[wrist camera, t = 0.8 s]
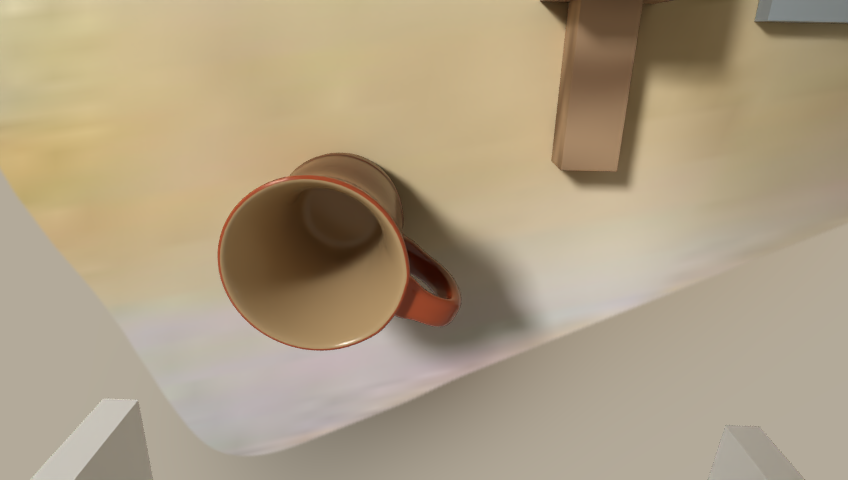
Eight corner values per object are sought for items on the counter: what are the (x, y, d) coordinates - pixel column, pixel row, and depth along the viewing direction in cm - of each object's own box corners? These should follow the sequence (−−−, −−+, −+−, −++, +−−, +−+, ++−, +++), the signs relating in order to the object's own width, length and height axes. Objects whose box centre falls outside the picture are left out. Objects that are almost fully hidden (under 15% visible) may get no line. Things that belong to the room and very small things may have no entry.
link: (628, 162, 32) (671, 187, 26) (525, 160, 32) (546, 185, 26) (676, -133, 26) (743, -181, 21) (552, -136, 26) (586, -184, 21)
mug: (258, 232, 34) (191, 306, 24) (308, 110, 31) (255, 140, 21) (421, 306, 36) (419, 402, 26) (483, 197, 33) (505, 260, 23)
